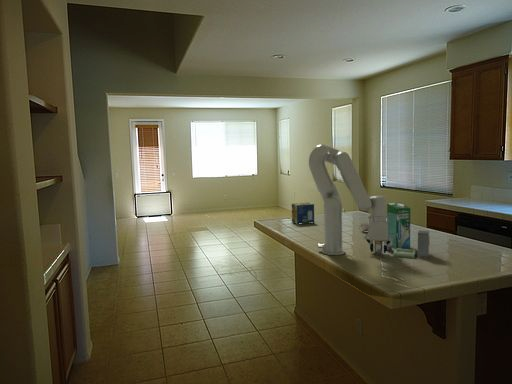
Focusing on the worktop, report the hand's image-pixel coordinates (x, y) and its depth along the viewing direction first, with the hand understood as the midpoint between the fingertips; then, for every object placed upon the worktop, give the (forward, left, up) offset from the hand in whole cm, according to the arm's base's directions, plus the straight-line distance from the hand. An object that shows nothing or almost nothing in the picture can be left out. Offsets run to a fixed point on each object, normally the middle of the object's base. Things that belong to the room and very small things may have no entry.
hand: (378, 251), depth 205 cm
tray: (+13, +2, -1) cm, 13 cm away
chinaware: (-9, +61, -1) cm, 62 cm away
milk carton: (+8, +20, -1) cm, 22 cm away
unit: (+22, +3, -1) cm, 22 cm away
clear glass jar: (+4, +9, -1) cm, 10 cm away
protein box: (-70, +77, -1) cm, 104 cm away
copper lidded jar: (0, 0, -1) cm, 1 cm away
